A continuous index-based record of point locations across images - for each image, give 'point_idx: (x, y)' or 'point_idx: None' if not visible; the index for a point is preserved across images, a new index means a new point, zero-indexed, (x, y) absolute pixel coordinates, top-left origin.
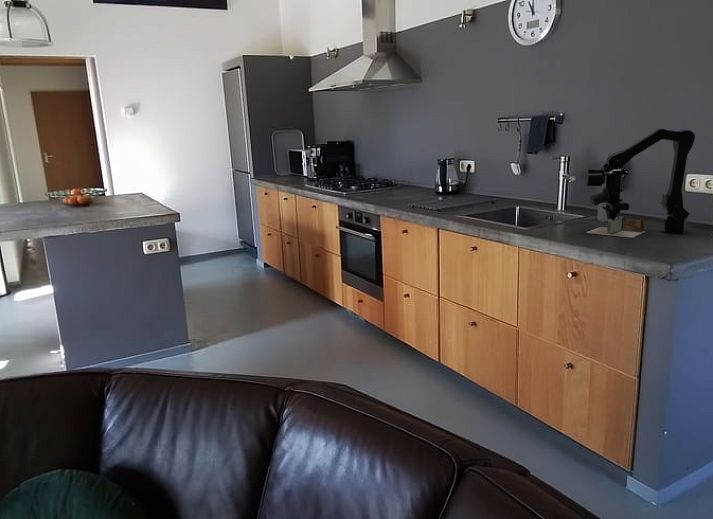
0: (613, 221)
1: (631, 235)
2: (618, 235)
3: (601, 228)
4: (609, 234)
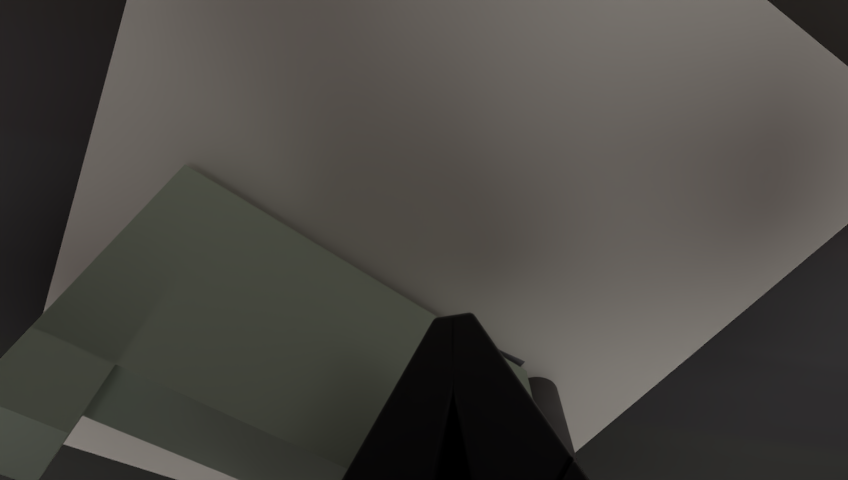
0: (161, 444)
1: (125, 433)
2: (55, 299)
3: (759, 145)
4: (100, 184)
